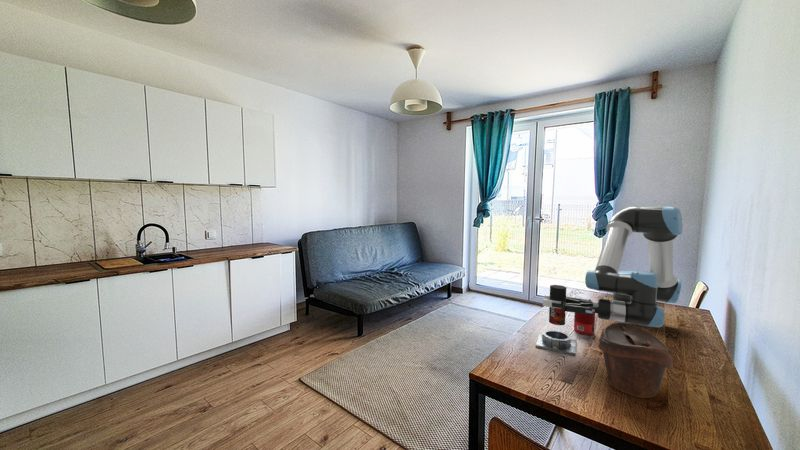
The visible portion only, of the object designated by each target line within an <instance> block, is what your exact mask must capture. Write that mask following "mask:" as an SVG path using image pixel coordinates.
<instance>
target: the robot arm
mask: <svg viewBox="0 0 800 450" xmlns="http://www.w3.org/2000/svg"><path fill="white" fill-rule="evenodd" d="M605 230H606V232H607V233H606V236H605V238H604V242H603V244H602V245H603V246H602V248H601V251H600V253H599V257H598V261H597V263H596V266H595V269H592V270H587V272H586V273H585V278H584V279H585V280H584V282H585V283H584V284H585V286H586V288H588V289H589V290H594V291H597V292H606V293H610V294H611V293H612V299H611V300H609V299H607V298H598V302H594V301H592V299H587V298H586V299H585V298H579V297H572V296H567V295H566V303H563V301H554V300H550V295H548V294H547V295H546V294H544V298H543V299H542V307H548V308H549V307H553V308H559V309H562V311H566V312H569V313H574V314H575V313H581V314H587V315H592V313H595V314H597V317H598V318H599V319H602V320H607V321H609V320H611V321H615V322H617V323H627V324H631V325H639V326H643V327H644V326H645V327H651V328H661V327H663V326H664V323H665V311H664V308H663V307H662V306H659V305H657V302H661V303H666V304H677V303H678V301H679V298H680V294H681V289H682V283H683V282H682V280H680V279H679V278H678V277H677V276H676V274H674V240H676V239H677V237H678V235H681V234H682V233H683V218H682V213H681V210H680V209H679V208H678V207H676V206H667V205H663V206H638V205H637V206H636V205H634V206H629V207H626V208H623V209H621V210H619V211H618V212H617V213H615V214H614V215H613V216H612V217H611V218H610V220H608V223H607V225H606V228H605ZM633 233H639V234H643V237H644V239H646V240H647V249H648V266H649V267H648V269H649V270H648V271H647V270H619V269H620V266H621V263H622V259H623V255H624V252H625V249H626V245H627V242H628V238H629V237H630V236H631V235H632V234H633Z"/></svg>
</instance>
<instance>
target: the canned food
mask: <svg viewBox="0 0 800 450" xmlns="http://www.w3.org/2000/svg"><path fill="white" fill-rule="evenodd" d="M573 317H574V321H573V322H574V325H573V329H574V331H575V332H576V334H577V333H578V334H580V335H585V336H592V335H594V334H595V324H596V323H595V322H596V313H592V315H587V314H581V313H574V316H573Z"/></svg>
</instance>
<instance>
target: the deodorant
mask: <svg viewBox="0 0 800 450" xmlns="http://www.w3.org/2000/svg"><path fill="white" fill-rule="evenodd" d="M549 296H550V300H554V301H563V303H566V296H567V286H564V285H561V284H551V285H550V286H549ZM548 309H549V311H548V313H549V314H548V323H549V324H551V325H554V326H565V324H566V312H567V311H562V309H559V308H553V307H548Z"/></svg>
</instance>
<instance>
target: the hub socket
mask: <svg viewBox="0 0 800 450" xmlns="http://www.w3.org/2000/svg"><path fill="white" fill-rule="evenodd" d="M576 346H577V339H574V338H572V336H571V335H569V334H568V333H566V332H563V331H561V330H556V329H546V330H543V331H542V332H539V334H538V336H537V340H536V343H535V348H537V349H542V350H547V351H552V352H556V353H560V354H565V355H566V354H567V355H571V356H576V351H577V350H576V349H577V347H576Z"/></svg>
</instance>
